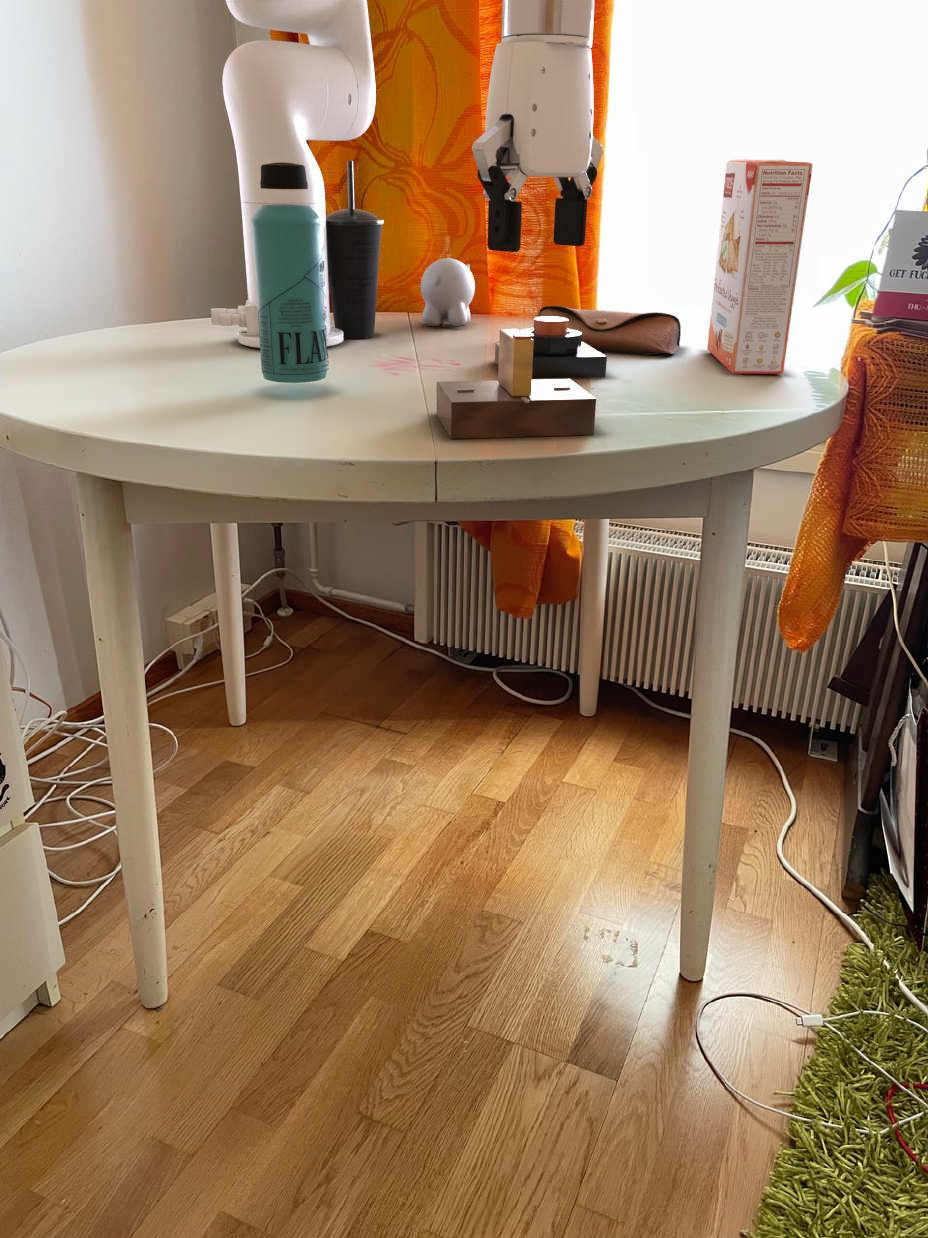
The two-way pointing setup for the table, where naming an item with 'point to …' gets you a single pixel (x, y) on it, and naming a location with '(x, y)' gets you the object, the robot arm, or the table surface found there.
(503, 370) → the tan cardboard box
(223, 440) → the table surface
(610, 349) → the sunglasses case
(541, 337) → the block
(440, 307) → the round bodied animal figurine
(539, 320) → the bell button
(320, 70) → the robot arm
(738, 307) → the cracker box
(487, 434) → the brown wooden base
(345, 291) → the drinking cup
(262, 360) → the beverage bottle
